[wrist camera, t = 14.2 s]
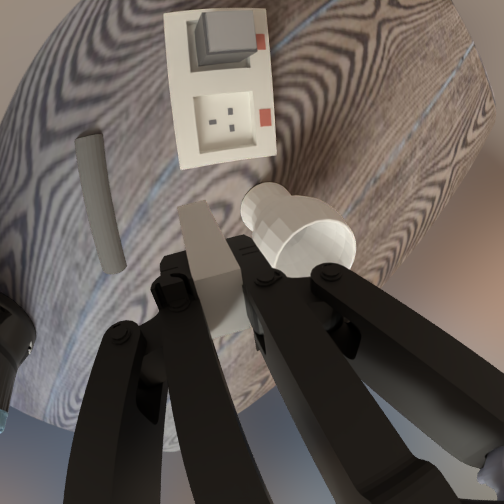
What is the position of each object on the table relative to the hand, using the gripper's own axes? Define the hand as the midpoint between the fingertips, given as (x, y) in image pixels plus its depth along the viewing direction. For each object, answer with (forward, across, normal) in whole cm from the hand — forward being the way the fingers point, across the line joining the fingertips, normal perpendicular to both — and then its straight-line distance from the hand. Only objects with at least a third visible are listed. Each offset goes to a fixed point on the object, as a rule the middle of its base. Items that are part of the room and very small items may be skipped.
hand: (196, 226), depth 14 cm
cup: (+21, +11, -10) cm, 26 cm away
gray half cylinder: (+22, -11, -4) cm, 25 cm away
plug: (+21, +7, +14) cm, 26 cm away
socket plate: (+21, +7, +9) cm, 24 cm away
